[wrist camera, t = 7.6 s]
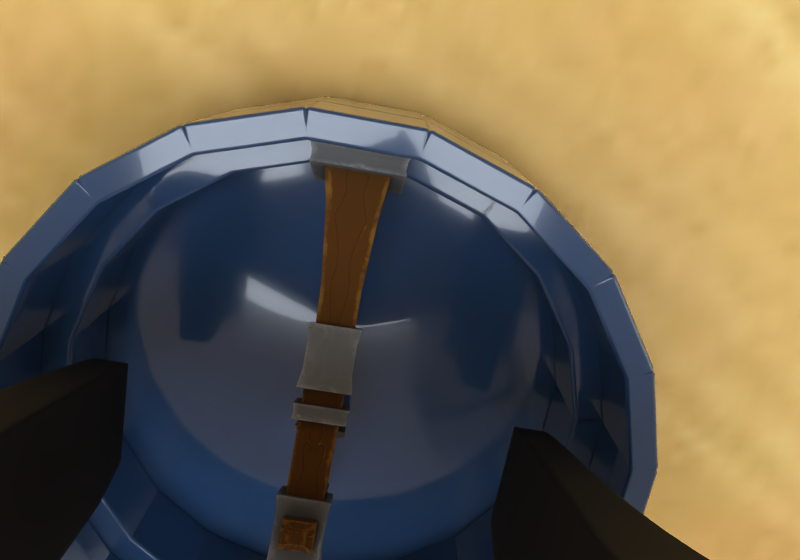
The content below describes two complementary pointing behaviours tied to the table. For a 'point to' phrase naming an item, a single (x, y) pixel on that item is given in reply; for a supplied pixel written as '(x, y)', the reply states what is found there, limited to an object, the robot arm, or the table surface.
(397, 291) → the bowl
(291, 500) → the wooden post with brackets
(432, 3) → the table surface
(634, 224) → the table surface
